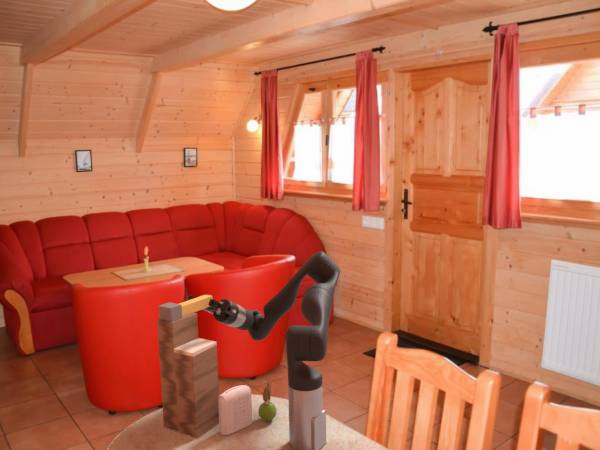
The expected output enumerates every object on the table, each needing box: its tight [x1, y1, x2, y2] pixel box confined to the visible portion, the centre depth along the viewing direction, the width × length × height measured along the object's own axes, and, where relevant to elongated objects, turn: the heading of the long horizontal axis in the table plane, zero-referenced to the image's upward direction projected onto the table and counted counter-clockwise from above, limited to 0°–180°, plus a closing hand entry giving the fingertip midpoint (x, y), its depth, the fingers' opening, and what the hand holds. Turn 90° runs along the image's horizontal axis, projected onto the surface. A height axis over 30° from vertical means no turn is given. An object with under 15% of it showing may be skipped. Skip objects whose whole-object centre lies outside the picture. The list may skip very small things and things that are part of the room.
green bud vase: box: [258, 376, 278, 422], centre depth 161 cm, size 5×6×12 cm
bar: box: [158, 294, 214, 322], centre depth 160 cm, size 5×18×4 cm, turn 147°
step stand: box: [156, 312, 220, 439], centre depth 157 cm, size 13×10×32 cm
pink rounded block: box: [218, 384, 253, 436], centre depth 156 cm, size 10×4×12 cm, turn 134°
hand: (199, 300), depth 164 cm, fingers open, 8 cm apart
